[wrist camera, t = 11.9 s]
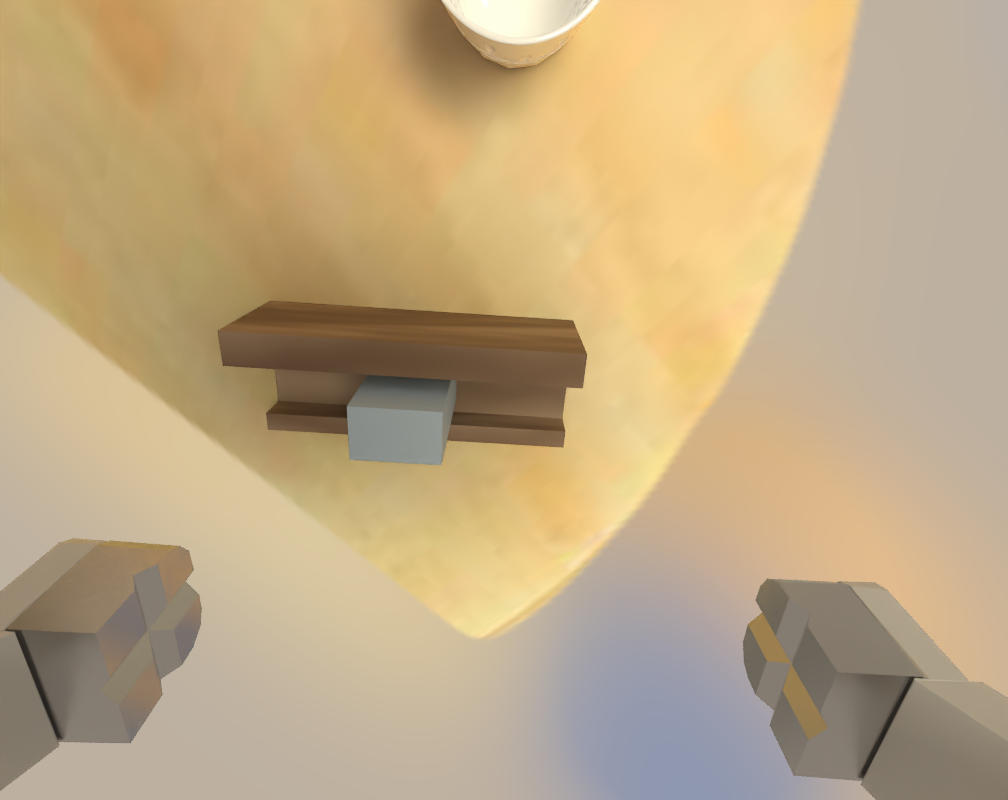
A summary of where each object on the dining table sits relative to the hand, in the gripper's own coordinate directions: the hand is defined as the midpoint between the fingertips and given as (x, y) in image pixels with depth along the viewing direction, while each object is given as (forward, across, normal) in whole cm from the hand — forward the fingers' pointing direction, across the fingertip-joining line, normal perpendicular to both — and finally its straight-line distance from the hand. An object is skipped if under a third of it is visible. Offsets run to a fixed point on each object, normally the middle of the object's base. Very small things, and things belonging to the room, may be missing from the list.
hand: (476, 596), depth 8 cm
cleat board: (+29, +5, +8) cm, 31 cm away
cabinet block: (+29, +5, +8) cm, 30 cm away
